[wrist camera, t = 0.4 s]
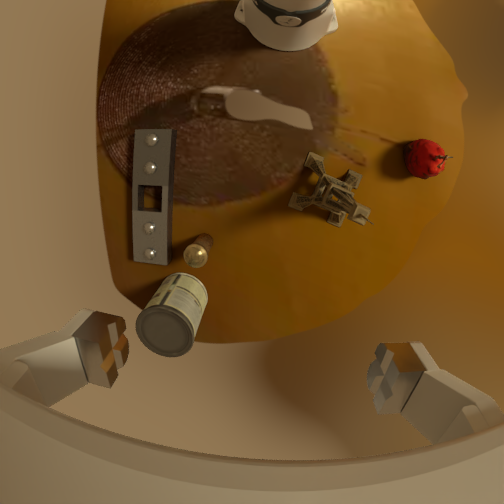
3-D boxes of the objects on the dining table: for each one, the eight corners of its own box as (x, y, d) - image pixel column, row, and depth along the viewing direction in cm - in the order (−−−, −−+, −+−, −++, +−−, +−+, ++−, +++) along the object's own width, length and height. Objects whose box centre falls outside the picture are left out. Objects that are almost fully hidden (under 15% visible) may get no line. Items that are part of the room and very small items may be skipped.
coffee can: (195, 324, 61) (179, 366, 48) (153, 300, 60) (128, 338, 47) (217, 288, 58) (204, 328, 45) (172, 262, 57) (146, 296, 44)
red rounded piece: (422, 182, 49) (466, 195, 35) (394, 166, 48) (435, 174, 34) (434, 148, 46) (480, 152, 32) (407, 131, 46) (450, 129, 32)
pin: (194, 230, 54) (183, 243, 47) (215, 232, 54) (207, 245, 47) (194, 250, 56) (183, 266, 48) (214, 252, 56) (206, 268, 48)
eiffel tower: (287, 205, 52) (305, 253, 29) (309, 151, 49) (348, 153, 25) (339, 226, 53) (390, 286, 29) (361, 175, 50) (432, 198, 26)
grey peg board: (141, 130, 48) (133, 129, 45) (176, 130, 48) (170, 129, 45) (139, 255, 57) (132, 262, 53) (171, 259, 57) (166, 266, 53)
